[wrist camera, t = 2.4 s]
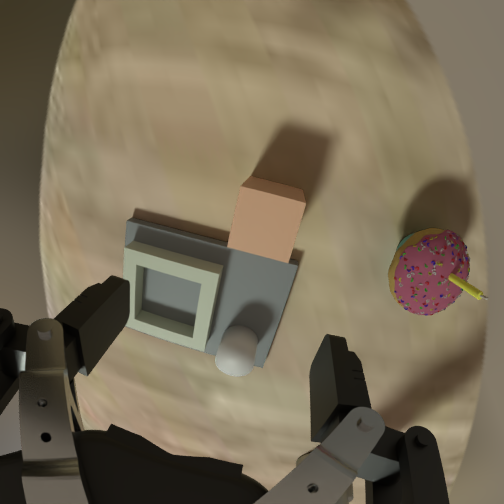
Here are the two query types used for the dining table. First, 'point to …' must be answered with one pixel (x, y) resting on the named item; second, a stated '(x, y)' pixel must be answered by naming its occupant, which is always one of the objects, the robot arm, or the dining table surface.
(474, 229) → the dining table surface
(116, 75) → the dining table surface
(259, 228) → the block
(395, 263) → the cupcake
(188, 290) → the base board
